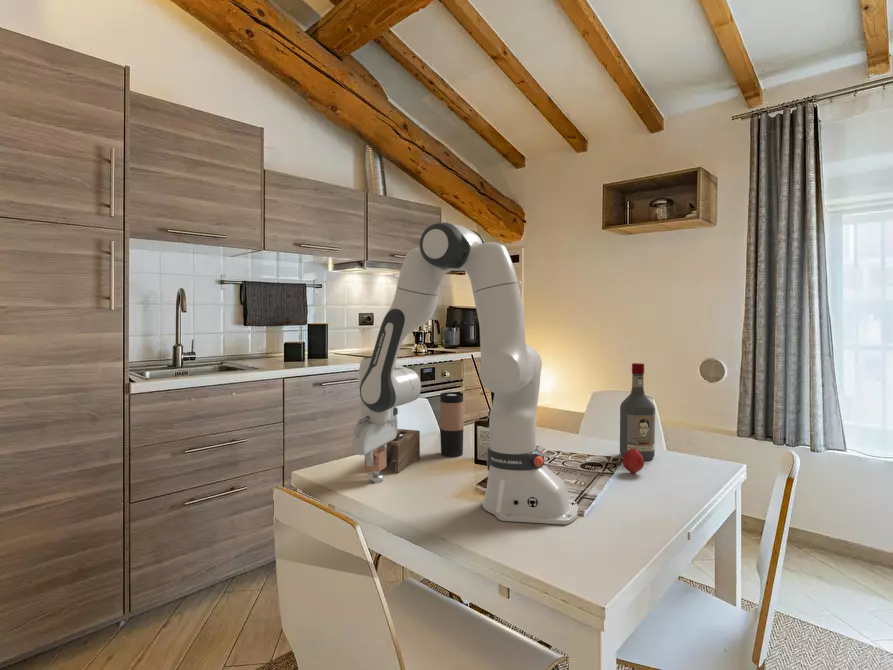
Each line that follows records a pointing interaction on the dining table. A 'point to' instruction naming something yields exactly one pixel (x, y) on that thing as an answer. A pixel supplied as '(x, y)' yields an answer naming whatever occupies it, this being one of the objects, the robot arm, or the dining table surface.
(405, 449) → the dark wooden box
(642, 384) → the liquor
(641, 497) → the dining table surface
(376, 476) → the keyed peg
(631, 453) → the onion
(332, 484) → the dining table surface
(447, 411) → the travel mug
